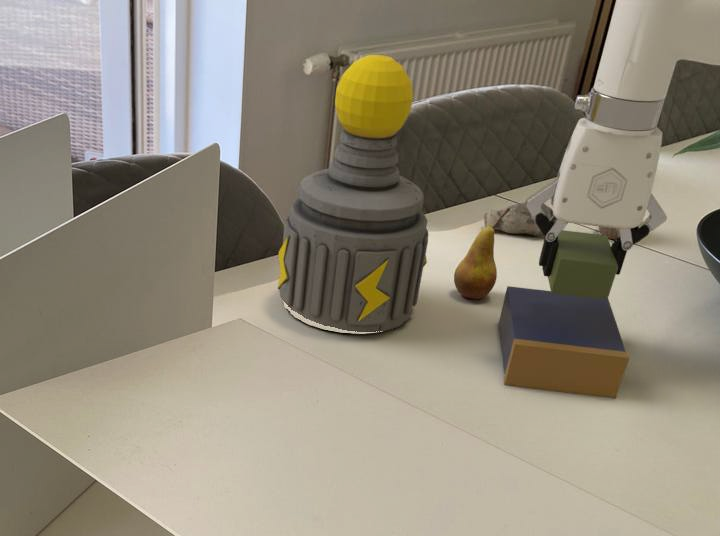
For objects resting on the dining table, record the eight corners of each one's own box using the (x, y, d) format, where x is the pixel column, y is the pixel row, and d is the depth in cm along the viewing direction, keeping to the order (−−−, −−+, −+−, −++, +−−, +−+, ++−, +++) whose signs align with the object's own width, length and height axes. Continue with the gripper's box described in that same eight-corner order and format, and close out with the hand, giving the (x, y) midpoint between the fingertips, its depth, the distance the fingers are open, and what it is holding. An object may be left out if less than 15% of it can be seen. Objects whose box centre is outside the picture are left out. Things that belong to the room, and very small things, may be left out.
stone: (477, 237, 160) (510, 216, 152) (478, 204, 160) (511, 181, 153) (526, 251, 164) (560, 231, 156) (527, 219, 164) (561, 197, 157)
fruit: (458, 284, 142) (476, 197, 134) (496, 295, 140) (517, 207, 132) (444, 297, 138) (462, 208, 130) (483, 308, 136) (504, 218, 128)
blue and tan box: (597, 335, 132) (609, 296, 129) (615, 398, 119) (629, 357, 115) (497, 323, 133) (506, 285, 130) (504, 384, 120) (514, 344, 116)
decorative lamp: (295, 341, 125) (322, 74, 105) (262, 281, 139) (280, 35, 119) (435, 335, 129) (487, 76, 109) (390, 278, 142) (428, 38, 123)
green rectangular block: (598, 268, 123) (608, 235, 120) (608, 300, 115) (619, 265, 113) (544, 261, 123) (552, 229, 121) (551, 293, 116) (560, 259, 113)
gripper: (545, 112, 105) (505, 279, 117) (712, 129, 104) (655, 296, 115) (539, 95, 110) (502, 256, 122) (698, 111, 109) (645, 272, 121)
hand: (577, 274), depth 119 cm, fingers closed on green rectangular block, 6 cm apart
